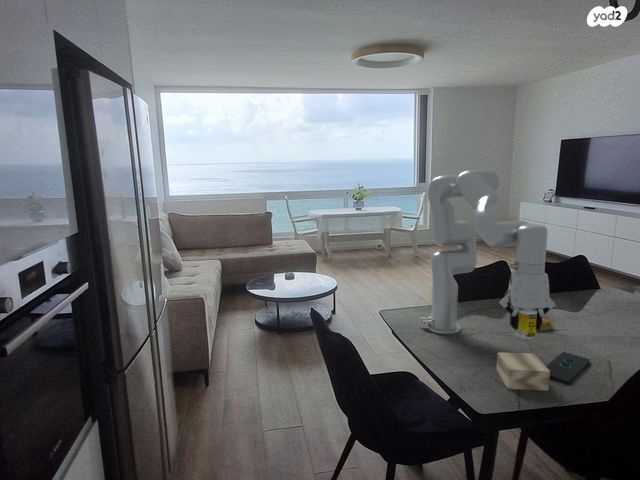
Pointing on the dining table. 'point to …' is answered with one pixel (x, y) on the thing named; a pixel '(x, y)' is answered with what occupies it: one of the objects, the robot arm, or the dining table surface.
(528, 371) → the oak block
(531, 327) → the supplement bottle
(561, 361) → the smart home device
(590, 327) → the dining table surface
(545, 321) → the pastry
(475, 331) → the dining table surface
